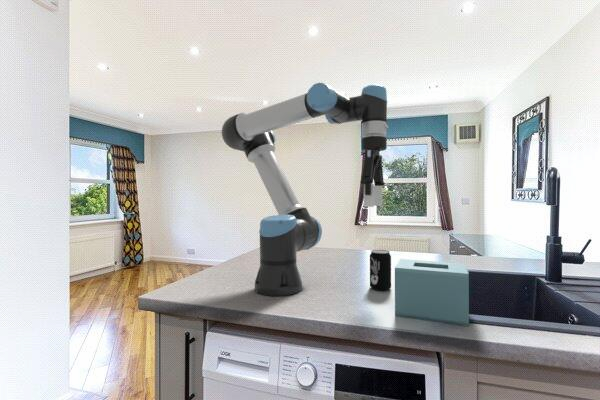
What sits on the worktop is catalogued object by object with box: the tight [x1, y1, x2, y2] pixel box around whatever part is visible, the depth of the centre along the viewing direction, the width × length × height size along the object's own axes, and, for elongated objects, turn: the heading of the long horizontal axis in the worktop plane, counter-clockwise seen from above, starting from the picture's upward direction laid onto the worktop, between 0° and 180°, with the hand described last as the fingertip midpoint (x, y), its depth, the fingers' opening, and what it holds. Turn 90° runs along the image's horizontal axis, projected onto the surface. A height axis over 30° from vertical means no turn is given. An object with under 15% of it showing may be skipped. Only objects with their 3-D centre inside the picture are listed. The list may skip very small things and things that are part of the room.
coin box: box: [394, 258, 470, 327], centre depth 78 cm, size 16×12×12 cm
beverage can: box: [369, 249, 392, 292], centre depth 99 cm, size 7×7×12 cm
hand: (373, 206), depth 96 cm, fingers open, 13 cm apart
